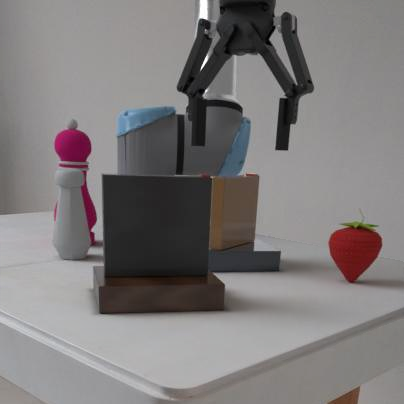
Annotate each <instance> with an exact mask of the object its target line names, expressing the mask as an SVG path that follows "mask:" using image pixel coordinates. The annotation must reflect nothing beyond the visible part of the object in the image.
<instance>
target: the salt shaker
mask: <svg viewBox="0 0 404 404" xmlns="http://www.w3.org/2000/svg"><path fill="white" fill-rule="evenodd" d="M54 182H55V185H57V186H59V187H58V188H59V189H58V197H57V198H58V199H57V201H58V204H57V203H56V204H57V212H56V220H55V221H54V229H53V238H52V244H53V245H52V246H53V247H54V249H55V251H56V252H57V254H58V256H59V258H60V259H61V260H70V261H71V260H72V261H73V260H84V259H85V258H86V257H87V255H88V252H89V250H90V248H91V246H92V245H91V238H90V233H89V228H88V223H87V218H86V212H85V207H84V202H83V197H82V191H81V186H83V185H84V173H83V172H82V171H81V170H79V169H70V168H64V169H57V170H56V171H55V172H54Z"/></svg>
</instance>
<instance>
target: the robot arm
mask: <svg viewBox="0 0 404 404" xmlns="http://www.w3.org/2000/svg"><path fill="white" fill-rule="evenodd" d="M276 4H277V0H194V41H193V44H192V46H191V49H190V51H189V54H188V57H187V59H186V61H185V63H184V64H185V65H184V66H183V69H182V72H181V75H180V77H179V80H178V83H177V84H176V91H177V92H179V93H181V94H184V95H186V96H187V99H188V100H187V103H186V106H185V114H182V113H177V110H176V106H174V105H165V106H163V105H160V106H149V107H139V108H138V107H137V108H130V109H125V110H122V111H121V112H120V113H119V114H118V116H117V120H116V121H117V122H116V134H115V138H116V139H117V140H116V141H117V142H116V143H117V144H116V146H117V147H116V148H117V149H116V151H117V152H116V153H117V155H116V157H117V161H116V163H117V164H116V165H117V166H116V169H117V173H116V174H139V175H172V176H198V174H207V175H211V178H213V177H221V176H236V175H240V174H241V172H242V170H243V168H244V165H245V163H246V158H247V155H248V149H249V144H250V138H251V131H252V125H251V123H252V121H251V119H250V118H249V117H247V116H244V107H243V105H242V104H241V102H240V101H238V99H237V98H236V97H237V95H236V94H237V57H242V56H243V57H244V56H246V55H250V56H258V54H259V56H261V57H262V59H263V61H264V63H265V64H266V65H267V67H268V69H269V70H270V72H271V74H272V75H273V77H274V78H275V80H276V81H277V84H278V85H279V86H280V88H281V90H282V91H283V93H284V95H283V96H284V97H279V101H278V111H277V123H276V135H275V136H276V137H275V147H274V148H275V149H274V150H275V151H281V152H283V151H288V152H289V145H290V135H291V125H296V123H297V122H298V116H299V115H298V113H299V104H300V99H301V98H302V97H303V96H305V95H309V94H312V93H313V92H314V91H315V85H314V82H313V78H312V75H311V72H310V69H309V67H308V64H307V61H306V58H305V54H304V51H303V48H302V45H301V42H300V39H299V36H298V18H297V16H296V15H295V14H292V13H291V12H288V11H284V12H282V14H281V15H278V16H276V14H275V9H276V6H277V5H276ZM276 29H277V32H278V33H279V34H281V38H282V41H283V45H284V49H285V51H286V54H287V57H288V60H289V63H290V66H291V69H292V72H293V75H294V78H293V77H292V75H291V74H290V72H289V71H288V69H287V66H285V64H284V62H283V60H282V59H281V58H280V55H279V54H278V51H277V49H276V48H275V46H274V44H273V43H272V41H271V39H270V38H271V37H272V35H273V34H274V33H275V31H276ZM294 79H295V80H294Z"/></svg>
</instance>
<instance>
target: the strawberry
mask: <svg viewBox="0 0 404 404" xmlns="http://www.w3.org/2000/svg"><path fill="white" fill-rule="evenodd" d="M359 212H360V214H361V216H362V218H363V219H362V220H361V222H360V221H353V222H342V223H340V222H339V224H338V225H341V226H345V227H342V228H339V229H336V230H335V231H334V232H332V233H331V234H330V236H329V239H328V243H327V244H328V250H329V254H330V257H331V258H332V261H333V262H334V264H335V265H336V267H337V269H338V270H339V271H340V273H341V274H342V276H343V278H344V279H345V280H346V281H347V282H349V283H353V282H355V281H357V280H358V279H359V277H361V276H362V274H364V273H365V272H366V271H367V270H368V269H369V268H370V267H371V265H373V264H374V262H375V261H376V260H377V259H378V257H379V254H380V253H381V250H382V248H383V238H382V236H381V235H380V233H379V232H378V231H377V230H376V229H374V228H378V227H380V225H377V224H371V223H363V222H364V220H365V216H364V214H363V212H362V210H361V208H359Z"/></svg>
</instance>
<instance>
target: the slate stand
mask: <svg viewBox="0 0 404 404" xmlns="http://www.w3.org/2000/svg"><path fill="white" fill-rule="evenodd" d="M209 245H210V241H209ZM281 256H282V251H281V250H279V248H276V247H275V246H272V245H270V244H268V243H267V242H265V241H263V240H261V239H259V238H257V239H256V238H255V241H252V242H249V243H245V244H241V245H238V246H234V247H231V248H227V249H223V250H216V249H210V248H209V262H208V269H209V270H210V271H211V272H212V273H217V272H218V273H219V272H220V273H221V272H223V273H225V272H279V271H280V268H281Z"/></svg>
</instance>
